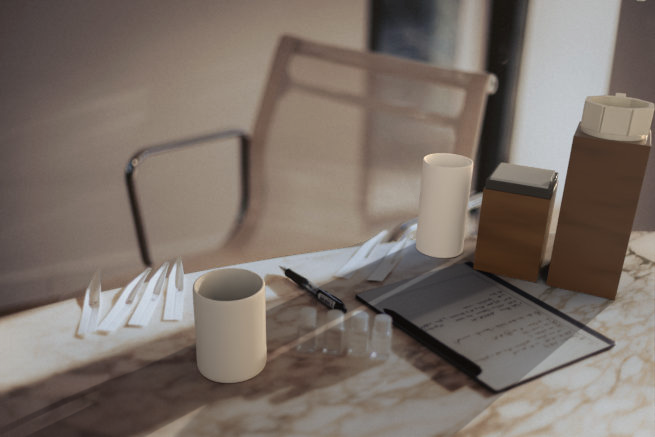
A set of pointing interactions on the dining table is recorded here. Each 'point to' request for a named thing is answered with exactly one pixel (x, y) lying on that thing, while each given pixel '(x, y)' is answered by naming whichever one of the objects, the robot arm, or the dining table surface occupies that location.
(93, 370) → the dining table surface
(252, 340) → the mug
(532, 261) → the stand
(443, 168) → the cup
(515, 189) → the scale
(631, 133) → the cream rounded piece
